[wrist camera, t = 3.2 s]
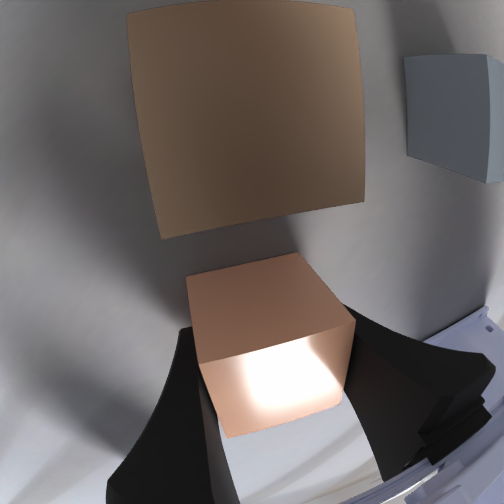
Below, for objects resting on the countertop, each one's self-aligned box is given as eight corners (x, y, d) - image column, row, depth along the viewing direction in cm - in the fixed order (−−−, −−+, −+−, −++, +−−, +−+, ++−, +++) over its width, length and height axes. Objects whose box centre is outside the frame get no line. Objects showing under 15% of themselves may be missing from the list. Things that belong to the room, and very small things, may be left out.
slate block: (460, 72, 10) (531, 81, 6) (461, 154, 12) (529, 179, 8) (401, 56, 9) (486, 54, 5) (405, 155, 11) (486, 183, 7)
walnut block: (281, 44, 8) (353, 9, 4) (292, 165, 10) (364, 201, 6) (146, 57, 7) (126, 14, 4) (165, 186, 10) (161, 240, 6)
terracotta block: (297, 252, 12) (356, 320, 8) (299, 333, 14) (340, 404, 10) (185, 276, 11) (198, 364, 7) (208, 356, 13) (227, 438, 9)
